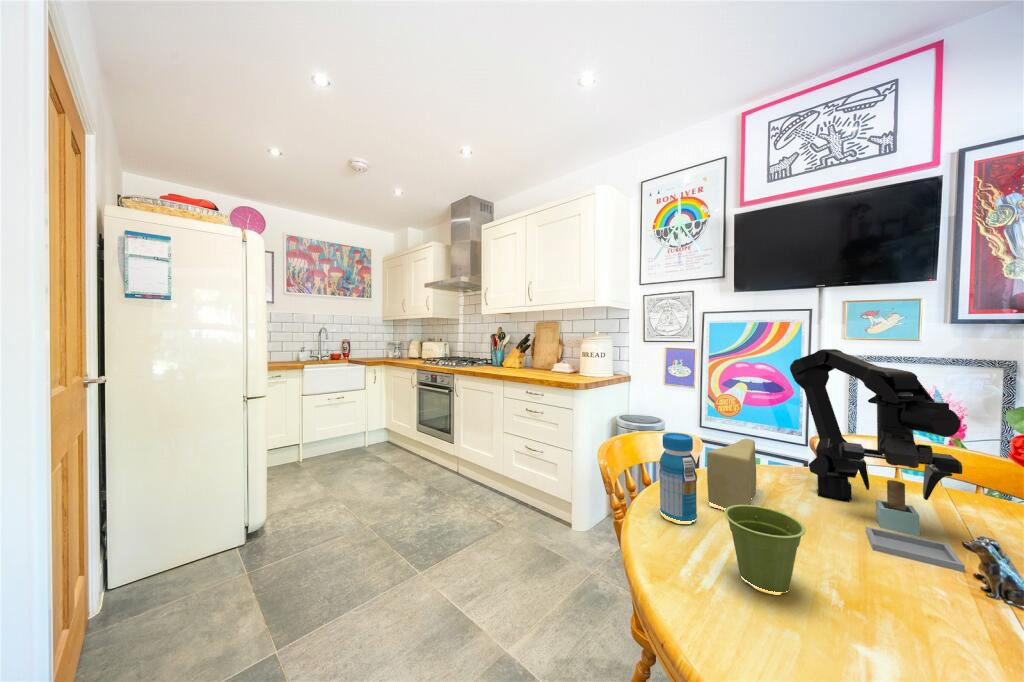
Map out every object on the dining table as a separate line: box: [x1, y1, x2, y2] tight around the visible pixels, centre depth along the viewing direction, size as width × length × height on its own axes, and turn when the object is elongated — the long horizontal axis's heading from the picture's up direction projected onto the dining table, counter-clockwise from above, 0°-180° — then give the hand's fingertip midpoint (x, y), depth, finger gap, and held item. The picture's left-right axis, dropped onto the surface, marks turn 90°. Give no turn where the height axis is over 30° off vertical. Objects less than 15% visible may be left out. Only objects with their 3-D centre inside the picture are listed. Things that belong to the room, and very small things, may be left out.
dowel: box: [886, 479, 906, 512], centre depth 83 cm, size 3×3×10 cm
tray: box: [865, 526, 966, 573], centre depth 73 cm, size 12×9×2 cm
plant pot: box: [723, 504, 807, 592], centre depth 64 cm, size 12×12×11 cm
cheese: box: [706, 438, 757, 508], centre depth 99 cm, size 22×10×15 cm, turn 132°
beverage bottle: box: [658, 432, 698, 521], centre depth 89 cm, size 8×8×20 cm
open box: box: [875, 498, 921, 537], centre depth 83 cm, size 6×6×5 cm
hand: (895, 494), depth 83 cm, fingers open, 9 cm apart
